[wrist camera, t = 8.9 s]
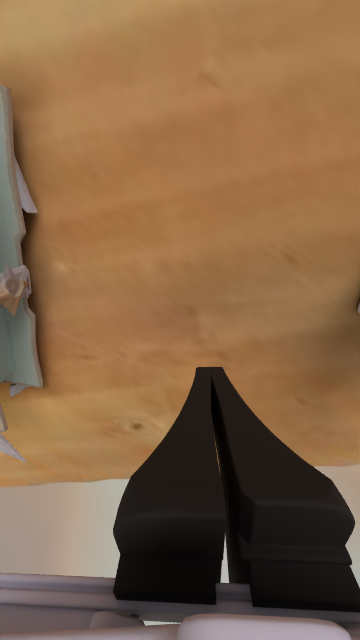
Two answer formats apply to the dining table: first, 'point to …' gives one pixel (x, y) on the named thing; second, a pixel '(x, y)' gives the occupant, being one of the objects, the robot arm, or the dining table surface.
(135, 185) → the dining table surface
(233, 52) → the dining table surface
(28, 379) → the ornate book
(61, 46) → the dining table surface
